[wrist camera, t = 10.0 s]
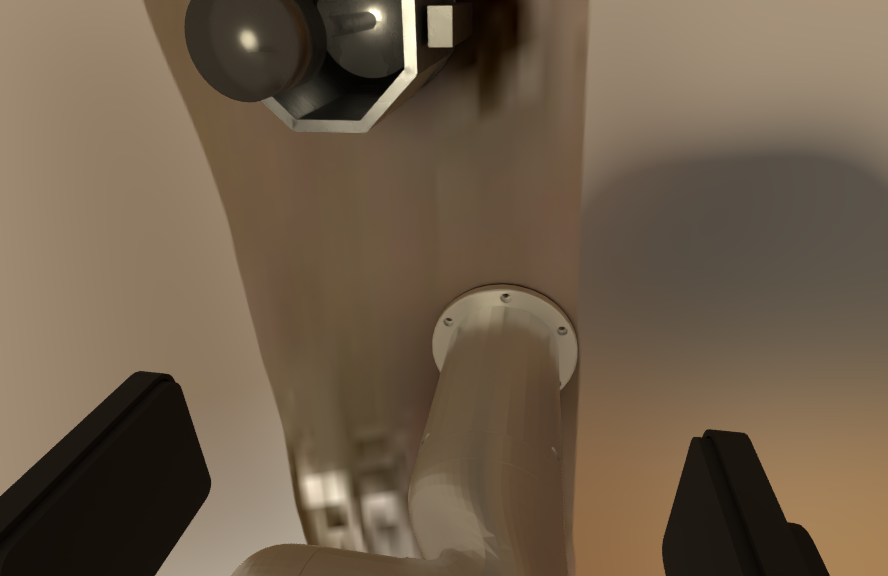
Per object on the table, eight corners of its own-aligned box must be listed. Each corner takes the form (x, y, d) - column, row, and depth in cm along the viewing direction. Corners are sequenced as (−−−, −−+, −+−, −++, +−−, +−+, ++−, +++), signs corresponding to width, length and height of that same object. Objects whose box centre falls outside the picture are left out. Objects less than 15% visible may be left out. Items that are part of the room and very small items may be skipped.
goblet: (424, 77, 34) (337, 139, 20) (326, 76, 35) (177, 135, 21) (421, -44, 31) (313, -72, 17) (313, -41, 32) (126, -65, 18)
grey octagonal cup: (477, 96, 38) (448, 139, 27) (324, 94, 39) (240, 133, 29) (479, -76, 33) (445, -106, 22) (304, -69, 34) (195, -95, 24)
